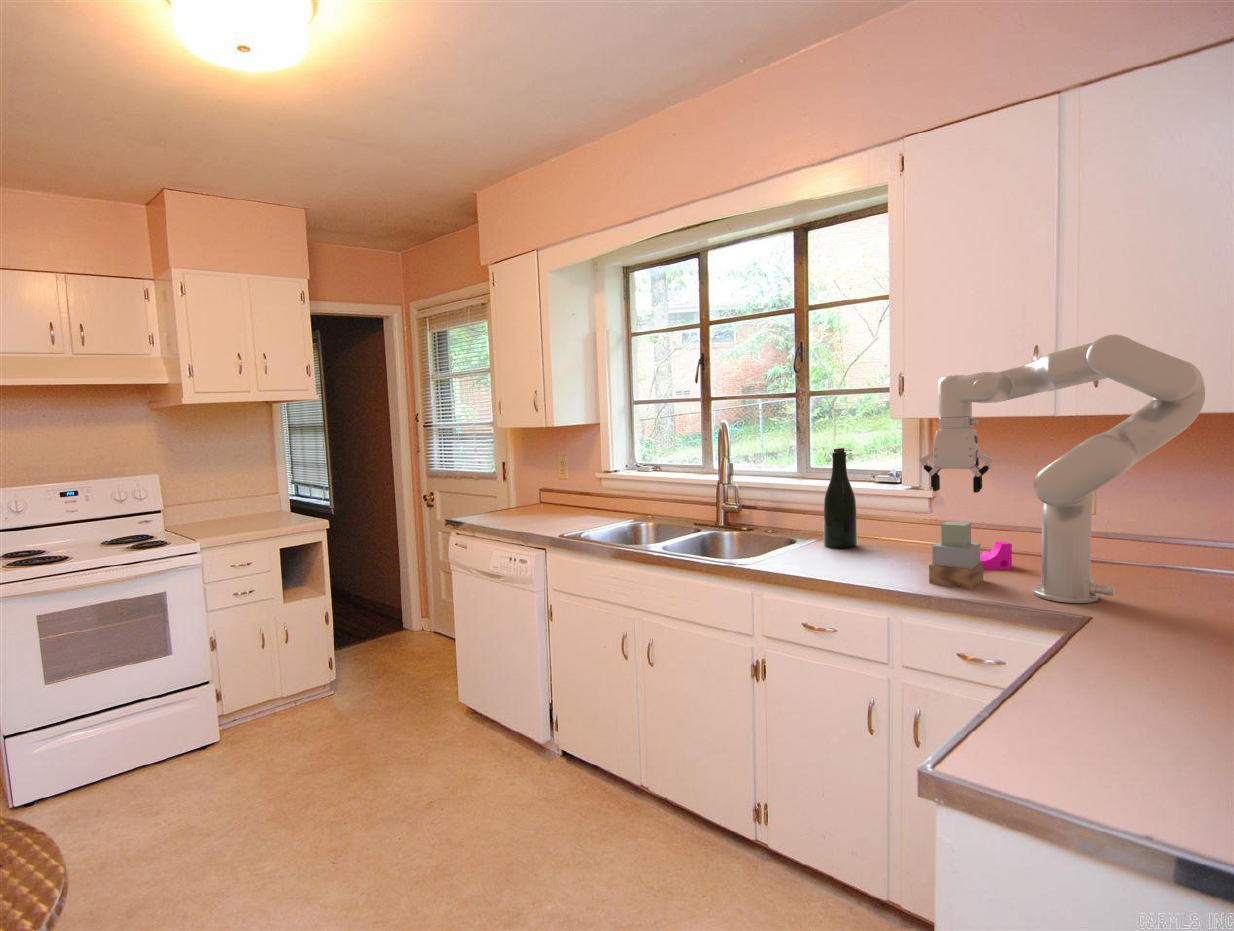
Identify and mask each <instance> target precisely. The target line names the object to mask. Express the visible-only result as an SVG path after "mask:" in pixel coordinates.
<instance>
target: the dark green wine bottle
mask: <svg viewBox="0 0 1234 931" xmlns="http://www.w3.org/2000/svg"><path fill="white" fill-rule="evenodd" d="M831 456H832V457H831V458H832V466H831V467H832V468H831V470H832V471H831V478H830V481H829V483H828V485H827V489H826V492H825V494H824V502H823V503H824V504H823V546H824V547H825V548H829V549H833V550H849V549H851V550H852V549H854V548H857V547H858V521H857V520H858V519H857V515H858V514H857V501H856V499H857V498H856V496H855V491H854V490H853V487H852V485H851V483H850V480H849V477H848V471H847V470H848V469H847V468H848V467H847V452H846V451H845V448H844V447H834V448H833V452H832V453H831Z"/></svg>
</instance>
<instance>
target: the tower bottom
mask: <svg viewBox="0 0 1234 931" xmlns="http://www.w3.org/2000/svg"><path fill="white" fill-rule="evenodd" d="M982 580H983V581H984V570H983V563H982V562H980V563H979V564H977V565H976V566H975V567H973V568H972V569H964V568H955V567H946V566H937V565H933V562H932V563H930V564H929V565H928V582H929V584H931V583H934V585H938V584H942V585H941V586H946V585H949V586H948V587H953V586H955V587H954V588H960V587H961V589H969V590H972V589H974V588H975V587H976V586H978V585H979V584H980V583H982V582H983V581H982ZM977 584H978V585H977Z"/></svg>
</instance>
